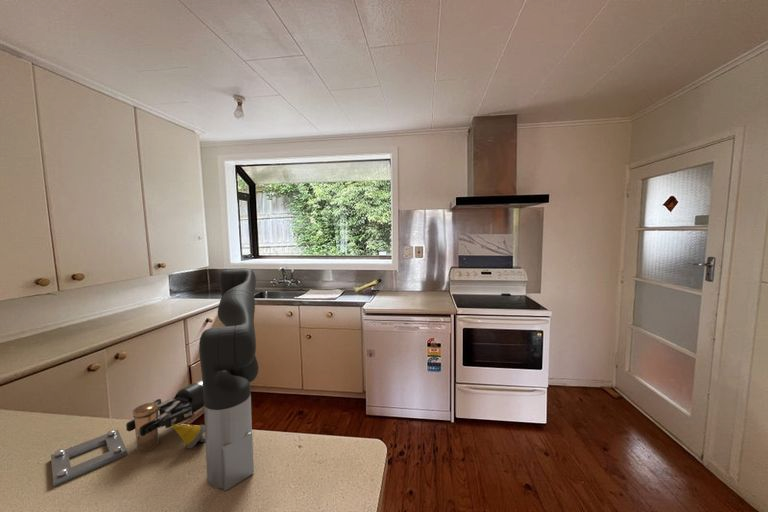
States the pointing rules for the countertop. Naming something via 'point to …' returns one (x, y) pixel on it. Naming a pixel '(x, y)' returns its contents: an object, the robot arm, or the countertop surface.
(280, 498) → the countertop surface
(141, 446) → the pipe stub
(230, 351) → the robot arm
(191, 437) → the drill bit
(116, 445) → the flange
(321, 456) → the countertop surface
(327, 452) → the countertop surface
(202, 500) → the countertop surface
